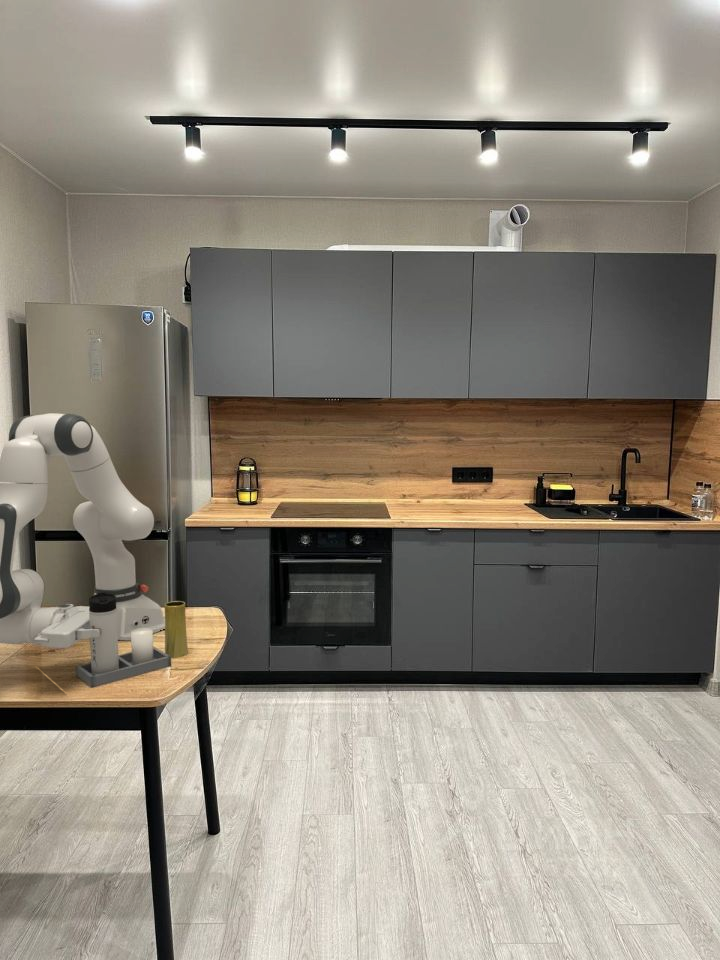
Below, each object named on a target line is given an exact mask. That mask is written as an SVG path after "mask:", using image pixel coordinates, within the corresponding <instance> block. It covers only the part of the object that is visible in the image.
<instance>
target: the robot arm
mask: <svg viewBox="0 0 720 960" xmlns="http://www.w3.org/2000/svg"><path fill="white" fill-rule="evenodd" d="M109 453H110V452H108V449H107V447H106V444H105V443H104V441H103V439H102V437H101V436H100V434H99V433H98V431H97V430H96V428H95V427H94V426H93V425H91V424H90V422H89V421H88V420H87V419H86V418H84V417H83V416H81V415H78V414H74V413H66V414H65V413H58V412H57V413H54V412H53V413H51V412H50V413H45V414H44V413H43V414H37V415H32V414H31V415H25V416H22V417H18V418H17V419H16V420H15V421H14V422H13V423H12V425H11V427H10V428H9V433H8V441H7V442H6V443H5V444H4V446H2V449H1V454H0V644H5V645H24V644H31V645H33V646H34V645H35V646H38V645H39V646H43V647H46V648H51V649H52V648H53V649H54V648H55V649H68V648H71V647H72V646H74V645H75V644H76V643H77V642H78V641H80V640H86V639H90V638H91V637H99V636H100V635H101V629H100V628H93V629H90V622H89V605H87V606H86V605H85V606H84V605H79V606H78V605H77V606H74V604H72V603H66V604H63V605H58V606H55V607H54V606H51V607H43V601H44V595H45V587H46V585H45V582H44V579H43V577H42V576H41V575H40V573H39V572H37V571H35V569H32V568H21V569H16V570H13V566H14V560H15V552H16V551H15V550H16V544H17V539H18V537H19V534H20V532H21V531H22V529H23V528H24V527H26V525H27V524H29V522H31V521H32V520H33V519H35V518H36V517H38V516H39V515H40V514H41V513H42V512H43V511H44V509H45V506H46V504H47V500H48V492H49V491H48V488H49V486H48V485H49V477H48V476H49V475H48V474H49V471H48V470H49V469H48V463H49V461H50V460H51V458H53V457H64V460H65V462H66V465H67V467H68V470H69V473H70V474H71V477H72V479H73V482H74V484H75V486H76V488H77V491H78V493H79V494H80V495H81V496H82V497H83V498H85V499H87V500H88V501H84V502H82V503H80V504H78V505H77V507H76V508H75V510H74V512H73V516H72V522H73V526H74V528H75V530H76V531H77V532H78V533H79V534H80V535H81V536H82V537H83V538H84V540H85V542H86V544H87V547H88V548H89V551H90V554H91V556H92V560H93V565H94V567H93V568H94V578H95V579H94V580H95V586H94V588H93V590H94V591H93V595H96V594H98V593H101V592H105V593H109V594H113V595H115V596H116V607H117V630H118V641H131V631H132V630H135V629H138V628H151V629H152V630H153V634H154V633H158V632H161V631H160V630H162V631H164V630H163V629H165V616H164V613H163V610H162V606H160V604H158V603H157V602H155V601H154V600H152V599H151V598H149V597H148V596H146V595H144V594H143V593H147V592H148V591H149V586H147V585H146V584H141V583H138V582H137V580H136V559H135V557H134V555H133V554H132V553H131V552H130V551H129V550H128V549H127V548H126V547H125V544H124V543H123V541H129V542H130V541H137V540H142V539H146V538H147V537H148V536H149V535H150V534H151V532H152V531H153V529H154V525H155V518H154V514H153V511H152V510H151V509H150V508H149V507H148V506H146V505H145V504H143V503H141V501H140V500H138V499H137V498H136V497H135V496H134V495H133V494H132V493H131V491H129V490H128V488H127V487H126V486H125V484H124V483H123V482H122V480H121V479H120V477H119V475H118V473H117V470H116V468H115V465H114V463H113V461H112V459H111V456H110V454H109Z"/></svg>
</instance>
